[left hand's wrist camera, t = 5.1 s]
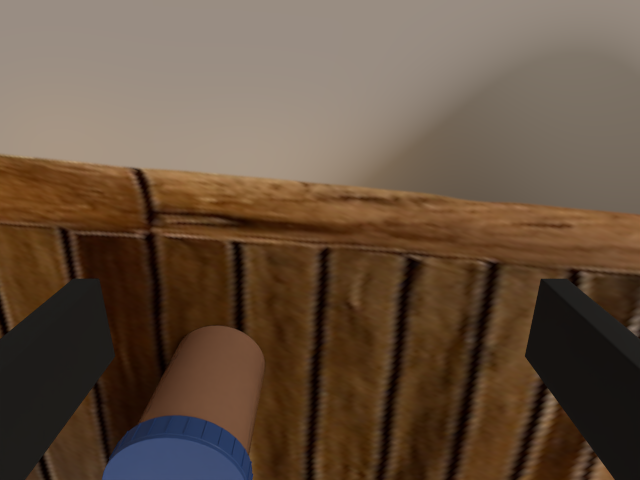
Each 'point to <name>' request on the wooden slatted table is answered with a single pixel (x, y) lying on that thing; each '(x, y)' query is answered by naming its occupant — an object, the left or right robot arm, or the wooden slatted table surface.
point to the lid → (178, 452)
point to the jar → (213, 381)
